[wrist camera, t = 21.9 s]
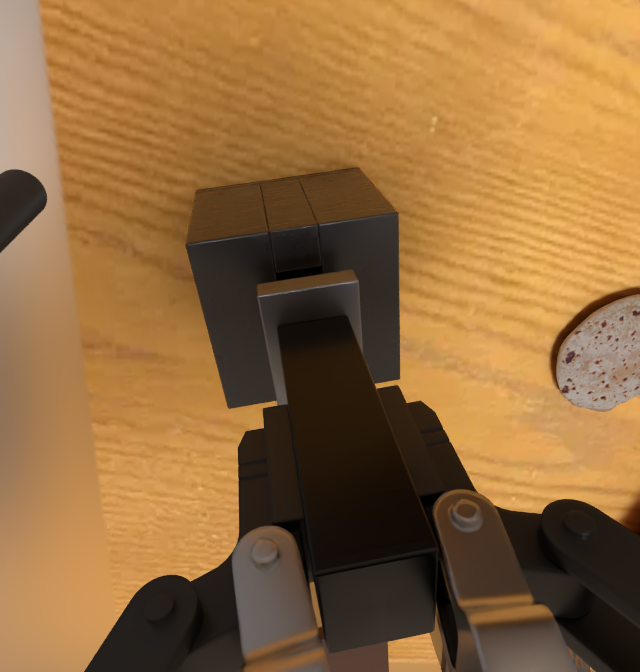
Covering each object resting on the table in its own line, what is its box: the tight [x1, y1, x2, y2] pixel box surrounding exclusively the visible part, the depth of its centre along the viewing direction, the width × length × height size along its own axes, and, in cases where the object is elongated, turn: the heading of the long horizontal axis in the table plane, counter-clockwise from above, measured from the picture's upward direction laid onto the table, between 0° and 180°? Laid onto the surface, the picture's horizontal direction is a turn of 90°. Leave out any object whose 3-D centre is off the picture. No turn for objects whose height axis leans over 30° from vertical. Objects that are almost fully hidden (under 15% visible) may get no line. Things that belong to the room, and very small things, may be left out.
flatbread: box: [556, 294, 640, 412], centre depth 29 cm, size 8×8×1 cm
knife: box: [256, 269, 439, 654], centre depth 15 cm, size 3×5×14 cm, turn 6°
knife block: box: [186, 168, 400, 409], centre depth 20 cm, size 7×7×6 cm
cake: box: [310, 582, 389, 672], centre depth 35 cm, size 6×9×5 cm, turn 6°
